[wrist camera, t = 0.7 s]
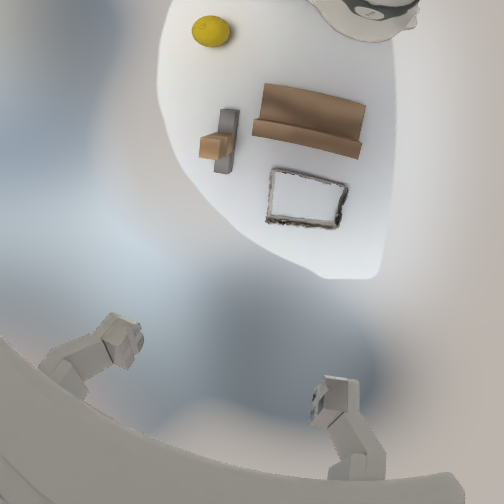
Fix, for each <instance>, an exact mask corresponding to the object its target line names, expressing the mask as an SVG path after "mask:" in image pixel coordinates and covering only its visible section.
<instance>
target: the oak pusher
mask: <svg viewBox="0 0 504 504" xmlns="http://www.w3.org/2000/svg"><path fill="white" fill-rule="evenodd" d="M238 118H239V110H231V109H221V110H220V118H219V127H218V133H217V132H216V133H213V134H210V135H207V136H204V137H201V139H200V150H199V157H200V158H207V159H213V160H215V165H214V172H216V173H222V174H229V173H230V172H231V171H232V166H233V157H234V149H235V141H236V133H237V126H238Z"/></svg>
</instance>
